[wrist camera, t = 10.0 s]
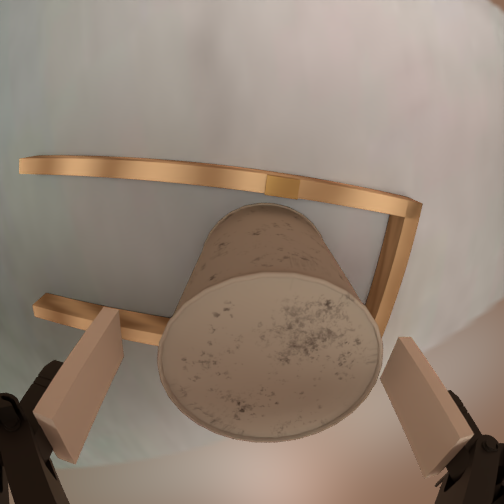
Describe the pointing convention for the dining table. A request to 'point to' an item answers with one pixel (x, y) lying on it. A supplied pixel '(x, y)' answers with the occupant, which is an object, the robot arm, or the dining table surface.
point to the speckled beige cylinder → (268, 332)
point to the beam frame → (238, 178)
